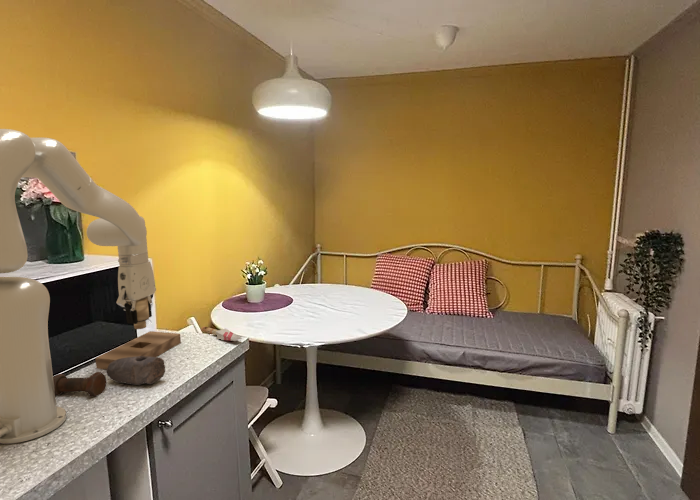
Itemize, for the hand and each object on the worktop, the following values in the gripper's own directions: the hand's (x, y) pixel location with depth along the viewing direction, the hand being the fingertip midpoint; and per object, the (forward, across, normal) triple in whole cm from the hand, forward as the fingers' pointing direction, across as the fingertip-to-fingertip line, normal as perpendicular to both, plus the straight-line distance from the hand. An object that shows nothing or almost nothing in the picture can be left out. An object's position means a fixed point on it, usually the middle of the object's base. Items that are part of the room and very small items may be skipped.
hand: (139, 319), depth 125 cm
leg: (+2, 0, 0) cm, 2 cm away
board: (+11, -1, 0) cm, 11 cm away
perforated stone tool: (+11, -17, -11) cm, 23 cm away
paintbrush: (+11, +18, -15) cm, 26 cm away
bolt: (+11, -24, 0) cm, 27 cm away
